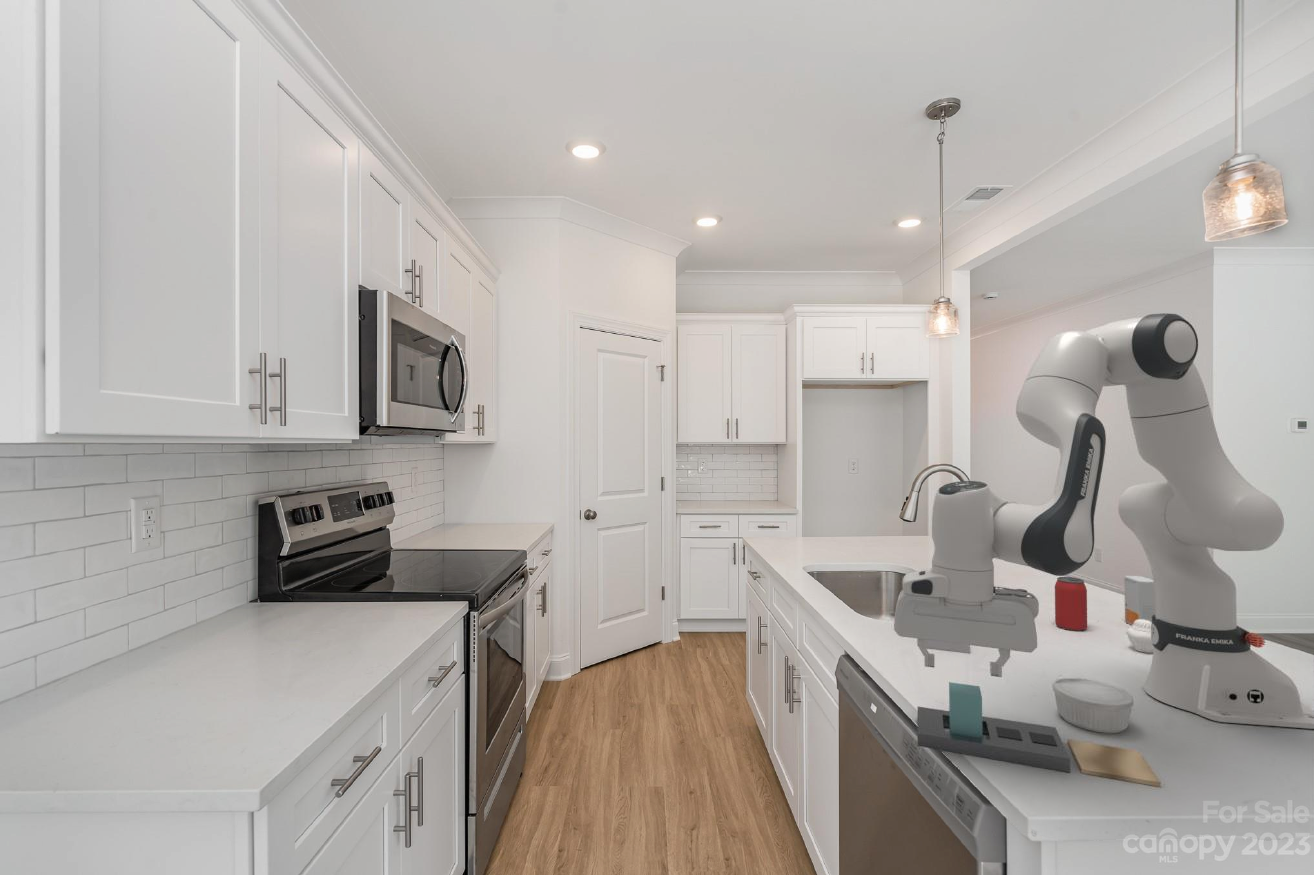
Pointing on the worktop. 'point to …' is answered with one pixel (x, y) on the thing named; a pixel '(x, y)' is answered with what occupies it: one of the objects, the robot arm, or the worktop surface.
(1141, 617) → the skincare box
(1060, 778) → the worktop surface
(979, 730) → the upright teal block
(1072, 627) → the beer can
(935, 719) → the grey slotted board
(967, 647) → the clip tray
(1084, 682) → the ramekin
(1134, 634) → the muffin
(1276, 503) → the robot arm
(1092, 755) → the pad
